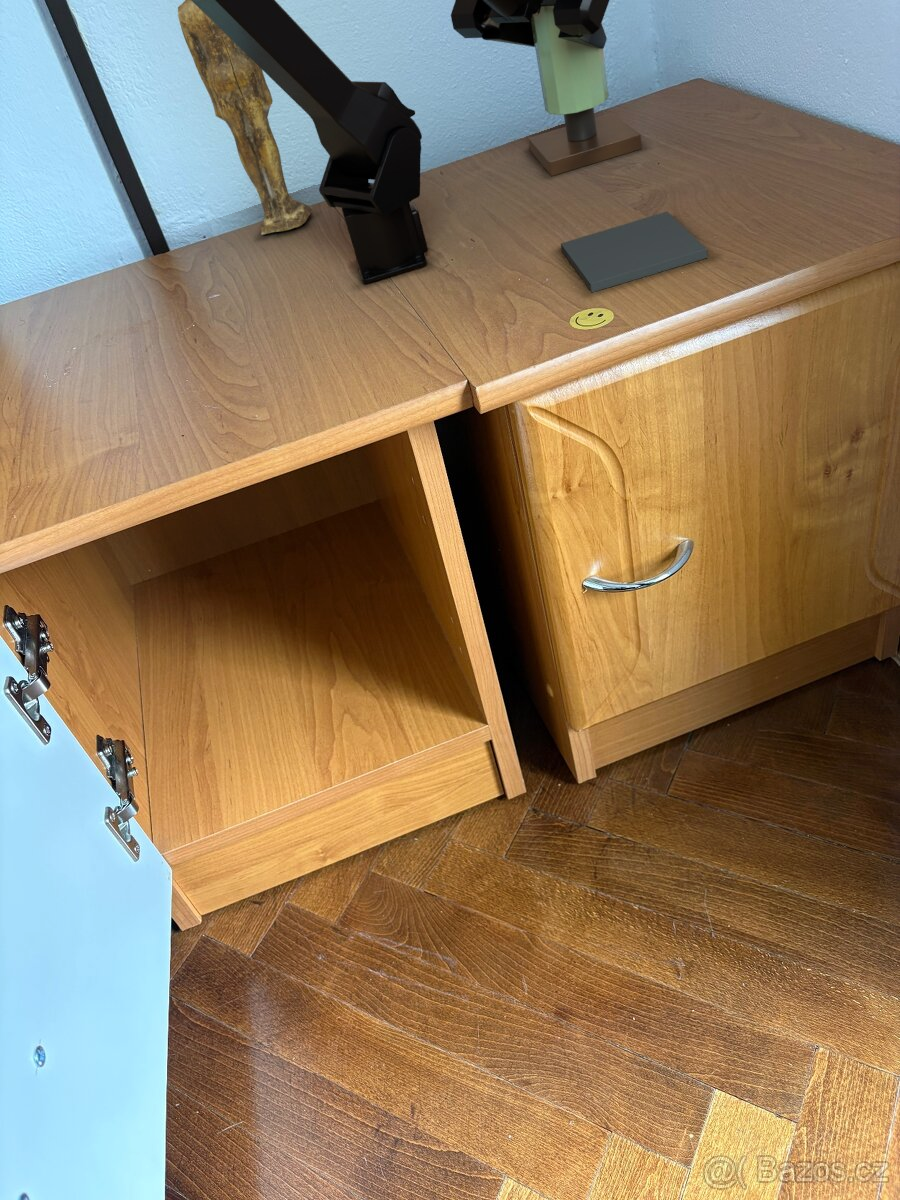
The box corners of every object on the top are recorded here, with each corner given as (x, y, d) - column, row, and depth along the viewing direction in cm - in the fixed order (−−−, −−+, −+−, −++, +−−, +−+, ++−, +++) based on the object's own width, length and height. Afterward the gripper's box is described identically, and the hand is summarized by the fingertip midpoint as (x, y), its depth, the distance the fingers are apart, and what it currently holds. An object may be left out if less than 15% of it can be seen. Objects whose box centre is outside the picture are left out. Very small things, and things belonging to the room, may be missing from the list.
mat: (591, 292, 84) (590, 283, 83) (561, 251, 92) (560, 243, 91) (707, 257, 84) (707, 248, 83) (668, 219, 91) (667, 211, 91)
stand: (551, 176, 107) (540, 112, 103) (530, 151, 115) (519, 91, 111) (642, 148, 107) (635, 83, 103) (614, 125, 115) (607, 64, 111)
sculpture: (320, 211, 116) (222, -94, 97) (309, 233, 112) (204, -84, 93) (265, 223, 118) (159, -76, 99) (252, 245, 113) (138, -65, 94)
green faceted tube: (554, 119, 105) (536, 1, 98) (539, 105, 110) (521, -8, 103) (615, 101, 105) (601, -18, 98) (598, 88, 110) (583, -27, 103)
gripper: (590, -150, 86) (680, -42, 98) (444, -123, 98) (540, -30, 110) (544, -17, 88) (638, 74, 99) (406, -7, 100) (504, 73, 112)
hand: (578, 44), depth 105 cm, fingers closed on green faceted tube, 7 cm apart
